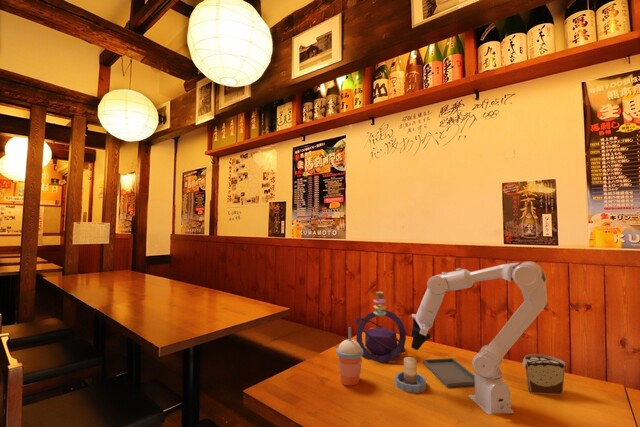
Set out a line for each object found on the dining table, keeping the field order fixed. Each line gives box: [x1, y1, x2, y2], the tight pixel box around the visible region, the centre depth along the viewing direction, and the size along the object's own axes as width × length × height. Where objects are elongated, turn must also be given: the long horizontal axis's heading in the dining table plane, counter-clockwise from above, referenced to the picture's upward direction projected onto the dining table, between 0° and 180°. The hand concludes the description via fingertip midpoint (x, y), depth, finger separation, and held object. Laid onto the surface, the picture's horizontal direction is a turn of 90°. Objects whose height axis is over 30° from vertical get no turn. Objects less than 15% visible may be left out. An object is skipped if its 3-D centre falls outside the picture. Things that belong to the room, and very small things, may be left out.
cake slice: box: [522, 353, 568, 396], centre depth 101 cm, size 12×6×10 cm, turn 84°
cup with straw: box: [335, 326, 364, 387], centre depth 106 cm, size 9×9×18 cm
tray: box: [422, 357, 475, 389], centre depth 110 cm, size 18×12×2 cm, turn 6°
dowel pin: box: [403, 356, 418, 385], centre depth 102 cm, size 4×4×8 cm
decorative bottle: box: [355, 291, 407, 364], centre depth 129 cm, size 22×21×25 cm
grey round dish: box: [394, 371, 427, 394], centre depth 102 cm, size 10×10×2 cm
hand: (414, 342), depth 107 cm, fingers open, 7 cm apart
